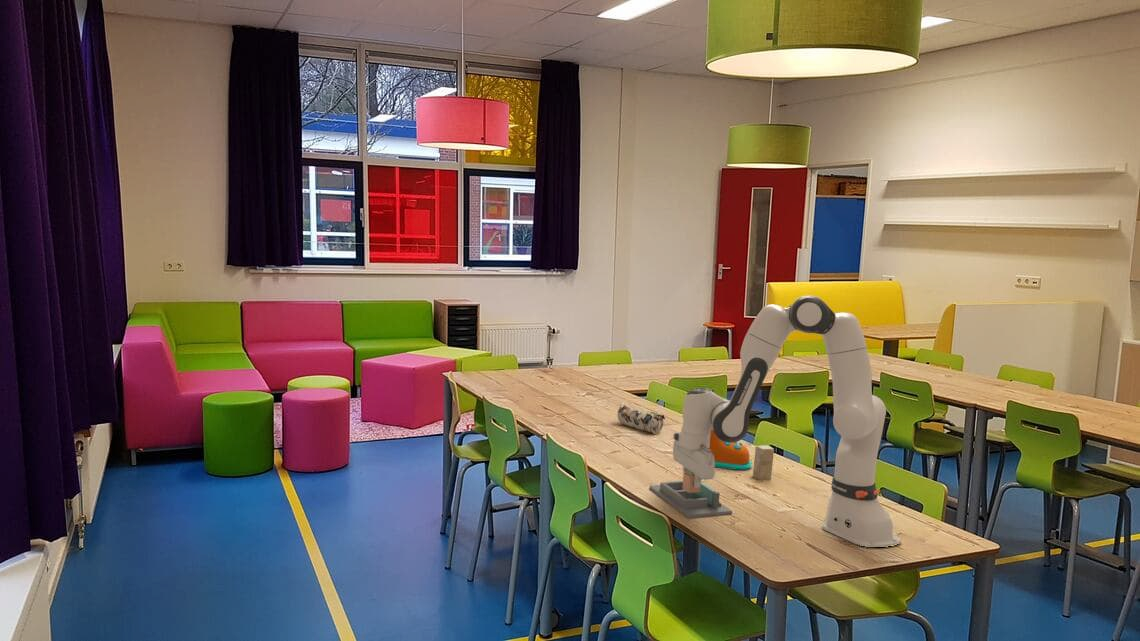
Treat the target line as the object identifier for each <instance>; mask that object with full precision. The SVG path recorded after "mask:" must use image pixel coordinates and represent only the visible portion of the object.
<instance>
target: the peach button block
mask: <svg viewBox="0 0 1140 641" xmlns="http://www.w3.org/2000/svg"><path fill="white" fill-rule="evenodd" d="M682 474H683V475H682V478H683V479H682V482H683V487H682V488H683V489H684V490H685V491H687V492H688V493H693V492H700V487H701V482H702V481H701V482H700V487H699V488H695V487H694V486H693V481H694V480H695V478H696V477H695V474H694V473H693V472H691V471H689V472H688V473H684V472H683V473H682Z"/></svg>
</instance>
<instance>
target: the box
mask: <svg viewBox="0 0 1140 641" xmlns="http://www.w3.org/2000/svg"><path fill="white" fill-rule="evenodd" d="M754 452H755V453H754V460H753V471H752V476H753V477H754V478H756V479H757V480H772V473H773V465H774V464H773V462H774V456H775V455H774V452H775V448H773V447H771V446H770V445H755V450H754Z"/></svg>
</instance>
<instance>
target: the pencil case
mask: <svg viewBox="0 0 1140 641" xmlns="http://www.w3.org/2000/svg"><path fill="white" fill-rule="evenodd" d="M619 406H620V407H618V409H617V416H616V417H617V419H618V421H619V422H620V423H621V424H622V425H625V426H627V427H630V428H633V429H637V430H639V431H642V432H647V433H650V434H653V435H659V434H660V433H661V431H662V429H663V426H664V420H666V417H665V415H664V414H661V413H659V412H658V411H656V412H655V411H654V410H651V411H649V410H646V409H641V408H637V407H632V406H631V405H629V404H628V403H625V402H622V403H620V404H619Z"/></svg>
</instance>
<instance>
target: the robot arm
mask: <svg viewBox="0 0 1140 641" xmlns="http://www.w3.org/2000/svg"><path fill="white" fill-rule="evenodd" d="M796 331H798V332H801V333H804V334H817V335H820V336H821V337H822V338H823V341H824V343H825V344H824V345H825V349H826V354H827V359H828V364H829V368H830V373H831V380H832V381H831V382H832V401H833V402H832V403H833V417H832V423H833V427H834V430H835V431H836V433H838V435H839V436H840V441H839V443H838V447H837V449H836V456H835V463H834V466H835V467H834V475H833V477H832V480H831V490H832V492H831V496H830V498H829V500H828V505H827V510H826V513H825V519H824V521H823V523H822V526H821V529H822V530H824V531H826V532H829V533H831V534H833V535H835V536H837V537H840V538H841V539H844V540H845V541H849V542H850V543H853V544H855V545H857V544H858V545H857V546H859V545H860V546H859V547H861V546H866V547H886V548H889V547H888V546H891V545H895V544H898V543H900V542H901V543H902V539H901V538H900V537H898V536H897V535H896V534H895V533H894V527H893V526H894V524H893V520H892V518H891V516H890V514H889V513H888V512H887V511H886V509H885V508H884V506H883V505H882V504H881V502H880V501H879V499H878V495H880V494H881V493H880V492H881V490H878V489H877V485H876V482H875V477H876V467H877V458H878V453H879V448H880V445H881V440H882V436H883V431H884V424H885V420H886V419H885V418H886V416H887V408H886V405H885V403H884V401H883V400H882V399H881V398H880V397H878V396H876V395H873V391H872V384H873V383H872V378H873V372H872V371H873V370H872V366H871V360H870V357H869V352H868V347H867V343H866V338H865V335H864V332H863V329H862V327H861V324H860V321H859V320H858V318H857V316H856V315H854V314H852V313H850V312H844V311H843V312H834V311H833V310H832V309H831V307H829V305H828V304H827V303H826V302H825V301H824V300H823V299H822V298H820V297H819V296H815V295H812V294H811V295H808V294H807V295H803V296H800V297H798V298H797V299H796V300H794V301H793V303H792V304H790V305H789V306H788V307H784V306H781V305H777V304H767V305H765V306H763V307H762V308H761V310H760V311H759V313H758V314H757V315H756V317H755V318H754V320H753V321H752V323H751V325H750V327H749V328H748V330H747V332H746V334H745V336H744V339H743V341H742V345H741V348H740V352H739V354H740V355H739V356H740V362H741V366H740V367H741V370H740V373H741V374H740V378H739V380H738V382H737V385H736V387H735V389H734V391H733V394H732V396H731V398H730V399H726V398H724V397H721V396H719V395H718V394H717V393H715V392H713V391H712V390H711V389H710V388H707V387H697V388H693V389H691V390H688V391H687V392H686V394H685V397H684V401H683V406H682V420H683V421H682V422H683V423H682V426H681V429H680V430H681V431H680V432H679V431H676V432H673V435H672V436H673V439H674V441H673V446H672V447H673V448H672V456H673V461H675V462H676V463H678V465H679V464H680V465H681V466H682V472H683V474H684V473H688V472H689V471H691V472H693V473H694V474H695V477H696V478H695V480H694V481H693V486H694V487H695V488H699V487H700V482H702V481H703V480H705V481H706V480H708V481H709V480H713V479H714V477H715V472H716V470H715V468H716V467H715V460H714V456H713V454H712V452H711V450H710V449H709V445H710V432H711V430H714V433H715V435H716V436H717V437H718V438H719V439H720V440H722V441H724V442H727V443H734V442H737V441H740V442H741V440H742V439H744V438H745V437H746V435H747V433H748V431H749V424H750V423H749V422H750V420H749V419H750V413H751V410H752V407H753V406H754V403H755V401H756V399H757V397H758V395H759V393H760V389H761V388H762V385H763V383H764V380H765V378H766V377H767V375H768V373H769V372H770V370H771V368H772V366H773V364H774V363H775V361H776V360H777V358H778V356H779V354H780V352H781V350H782V348H783V346H784V344H785V342H786V341H787V339H788V337H789V336H790V335H791V333H793V332H796ZM901 543H900V544H901ZM866 547H865V548H866Z"/></svg>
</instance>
